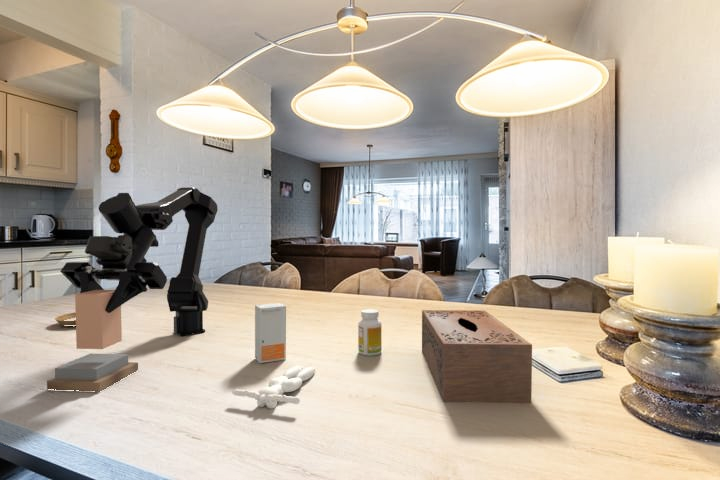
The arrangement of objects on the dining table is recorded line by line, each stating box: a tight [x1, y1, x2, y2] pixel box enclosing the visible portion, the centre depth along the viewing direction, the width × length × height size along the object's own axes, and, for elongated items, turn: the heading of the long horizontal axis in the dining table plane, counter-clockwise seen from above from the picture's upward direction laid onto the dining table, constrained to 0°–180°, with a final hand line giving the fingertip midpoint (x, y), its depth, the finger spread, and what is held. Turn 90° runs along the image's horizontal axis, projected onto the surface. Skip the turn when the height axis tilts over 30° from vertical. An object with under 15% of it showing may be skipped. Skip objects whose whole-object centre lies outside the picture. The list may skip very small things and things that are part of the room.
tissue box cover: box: [421, 309, 533, 404], centre depth 74 cm, size 26×14×10 cm, turn 178°
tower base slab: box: [46, 361, 139, 393], centre depth 71 cm, size 10×10×2 cm
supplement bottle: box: [357, 308, 383, 357], centre depth 87 cm, size 5×5×10 cm
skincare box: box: [254, 302, 287, 364], centre depth 82 cm, size 6×4×12 cm
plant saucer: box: [54, 311, 76, 326], centre depth 115 cm, size 15×15×3 cm
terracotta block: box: [74, 289, 123, 350], centre depth 71 cm, size 5×5×10 cm
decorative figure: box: [232, 365, 316, 410], centre depth 67 cm, size 4×12×18 cm
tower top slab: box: [54, 353, 129, 380], centre depth 71 cm, size 8×8×2 cm
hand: (93, 311), depth 69 cm, fingers closed on terracotta block, 5 cm apart
